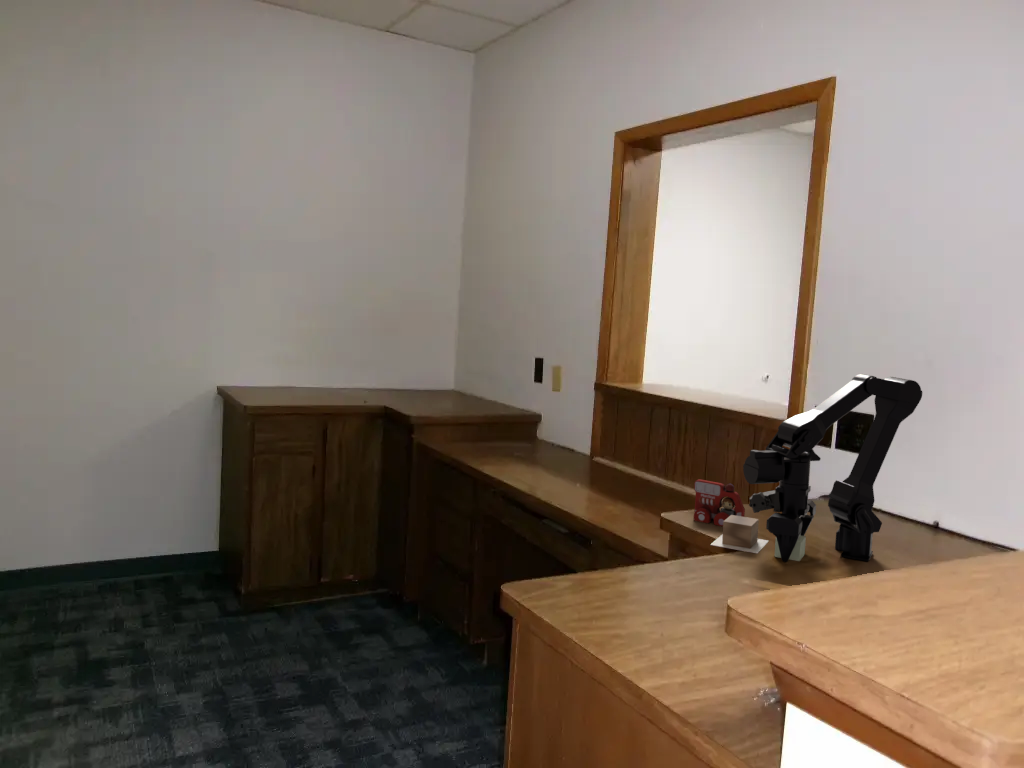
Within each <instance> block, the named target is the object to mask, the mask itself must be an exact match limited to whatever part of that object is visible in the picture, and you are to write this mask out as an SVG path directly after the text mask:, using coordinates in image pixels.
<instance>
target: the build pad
mask: <svg viewBox="0 0 1024 768" xmlns="http://www.w3.org/2000/svg"><path fill="white" fill-rule="evenodd" d="M722 539H723V533H722V534H720V536H718V537H717V538H716V539H715V540H714V541H713V542H711V544H710V546H714V547H720V548H726V549H731V550H737V551H741V552H748V553H753V554H759V553H760V551H761V550H762V549H763V548H764V547H765V546H766V545H767V544H768V542H769V540H768V539H767V540H766V539H762V538H758V540H757V542H756V543H755V544H754V545H753V547H752V548H751V549H748V548H743V547H737V546H732V545H726V544H722Z"/></svg>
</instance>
